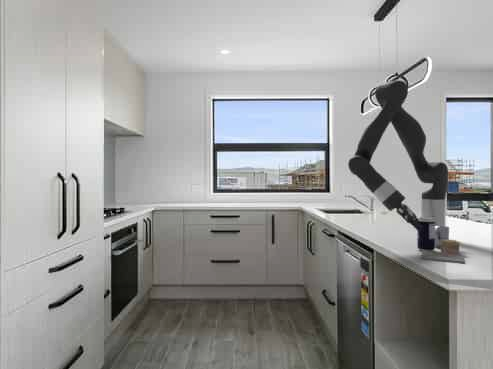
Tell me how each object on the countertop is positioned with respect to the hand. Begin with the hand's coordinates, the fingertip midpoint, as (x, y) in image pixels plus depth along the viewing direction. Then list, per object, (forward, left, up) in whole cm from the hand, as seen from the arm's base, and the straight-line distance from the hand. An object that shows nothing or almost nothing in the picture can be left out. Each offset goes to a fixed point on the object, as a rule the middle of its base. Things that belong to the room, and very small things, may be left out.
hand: (421, 228), depth 130 cm
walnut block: (+1, +9, -8) cm, 12 cm away
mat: (+10, +7, -8) cm, 14 cm away
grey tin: (-9, +7, -8) cm, 14 cm away
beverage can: (0, +2, -8) cm, 8 cm away
